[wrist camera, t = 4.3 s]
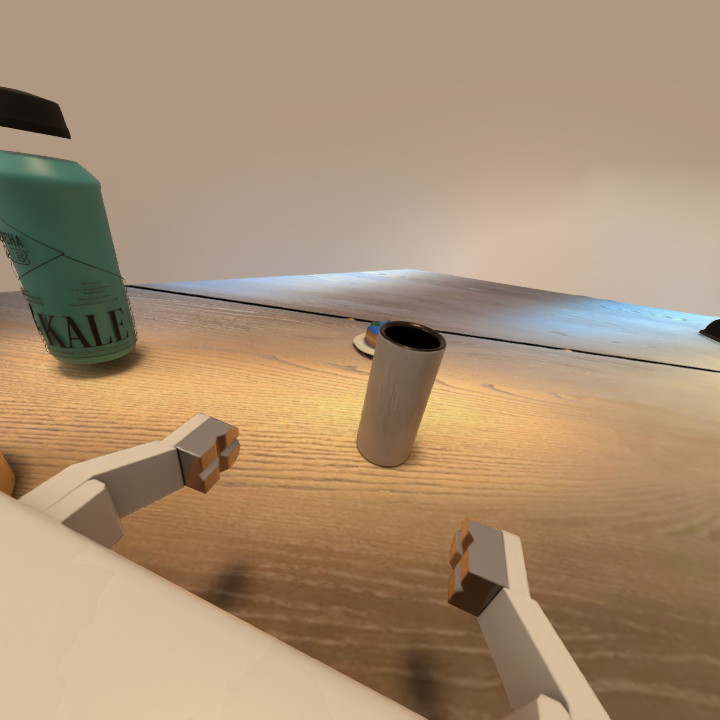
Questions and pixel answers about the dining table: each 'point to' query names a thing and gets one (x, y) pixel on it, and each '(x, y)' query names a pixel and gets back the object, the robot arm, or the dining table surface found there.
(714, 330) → the sunglasses
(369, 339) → the dessert
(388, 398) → the grey tumbler
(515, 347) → the dining table surface
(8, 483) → the pale green two-tone container
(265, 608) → the dining table surface
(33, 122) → the beverage bottle
